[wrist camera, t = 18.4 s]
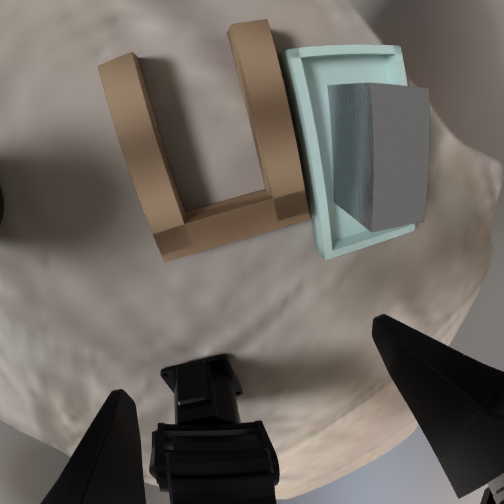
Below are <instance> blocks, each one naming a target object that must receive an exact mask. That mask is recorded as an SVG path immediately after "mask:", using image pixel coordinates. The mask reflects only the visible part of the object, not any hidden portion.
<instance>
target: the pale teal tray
mask: <svg viewBox="0 0 504 504" xmlns="http://www.w3.org/2000/svg"><path fill="white" fill-rule="evenodd" d="M280 58H281V62H282V66H283V70H284V74H285V78H286V83H287V87H288V91H289V96H290V100H291V105H292V110H293V114H294V119H295V124H296V129H297V134H298V139H299V145H300V150H301V155H302V161H303V166H304V172H305V178H306V184H307V190H308V196H309V202H310V209H311V215H312V222H313V229H314V236H315V244H316V249H317V250H318V252H319V253H320V254H321V255H322V257H323V258H324V259H325V260H328V259H331V258H335V257H338V256H341V255H344V254H347V253H350V252H353V251H356V250H359V249H362V248H365V247H368V246H371V245H374V244H377V243H380V242H383V241H386V240H389V239H392V238H395V237H398V236H401V235H403V234H406V233H409V232H412V231H415V224H411V225H406V226H401V227H396V228H391V229H387V230H382V231H377V232H372V233H371V232H370V231H369V230H368V229H366V228H365V227H364V226H363V225H361V224H360V223H359V222H358V221H357V220H355V219H354V218H353V217H352V216H350V215H349V214H348V213H347V212H345V211H344V210H343V209H342V208H340V207H339V206H338V205H336V204H335V203H334V182H333V157H332V138H331V124H330V111H329V99H328V89H327V85H336V84H351V83H383V84H394V85H404V86H408V85H407V79H406V73H405V67H404V62H403V57H402V52H401V47H400V46H391V45H331V46H315V47H303V48H293V49H288V50H286V51H284V52H282V53H280Z"/></svg>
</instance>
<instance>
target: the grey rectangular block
mask: <svg viewBox="0 0 504 504" xmlns="http://www.w3.org/2000/svg"><path fill="white" fill-rule="evenodd" d="M327 89H328V99H329V111H330V124H331V138H332V157H333V182H334V203H335V204H336V205H338V206H339V207H340V208H342V209H343V210H344V211H345V212H347V213H348V214H349V215H350V216H352V217H353V218H354V219H355V220H357V221H358V222H359V223H360V224H361V225H363V226H364V227H365V228H366V229H368V230H369V231H370V232H371V233H372V232H377V231H382V230H387V229H391V228H396V227H401V226H406V225H411V224H415V223H420V222H424V216H425V208H426V198H427V187H428V173H429V151H430V109H429V89H427V88H420V87H413V86H404V85H394V84H383V83H351V84H336V85H327Z"/></svg>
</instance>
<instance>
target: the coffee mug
mask: <svg viewBox="0 0 504 504" xmlns="http://www.w3.org/2000/svg"><path fill="white" fill-rule="evenodd" d="M2 217H3V196H2V192H1V188H0V224H1V221H2Z"/></svg>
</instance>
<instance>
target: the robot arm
mask: <svg viewBox="0 0 504 504" xmlns="http://www.w3.org/2000/svg"><path fill="white" fill-rule="evenodd" d="M372 338H373V340H374V342H375V344H376V347H377V349H378V351H379V353H380V355H381V357H382V360H383V362H384V364H385V366H386V368H387V370H388V372H389V374H390V376H391V378H392V380H393V381H394V383H395V385H396V386H397V388H398V390H399V391H400V393H401V395H402V396H403V398H404V400H405V401H406V403H407V405H408V406H409V408H410V410H411V412H412V413H413V415H414V417H415V418H416V420H417V422H418V424H419V425H420V427H421V429H422V431H423V433H424V434H425V436H426V438H427V440H428V441H429V443H430V445H431V447H432V449H433V451H434V452H435V454H436V456H437V458H439V459H438V460H439V462H440V464H441V466H442V468H443V469H444V471H445V473H446V475H447V477H448V479H449V481H450V483H451V485H452V487H453V489H454V491H455V493H456V495H457V497H458V498H461V497H463V496H465V495H467V494H469V493H471V492H473V491H475V490H476V489H478V488H480V487H481V486H484V485H485V484H488V486H489V487H488V488H486V489H485V491H484V494H483V497H482V500H481V503H480V504H504V372H503V371H501V370H498V369H495V368H492V367H490V366H488V365H485V364H483V363H481V362H479V361H477V360H475V359H472V358H471V357H468V356H466V355H463V353H461V352H459V351H456V350H455V349H453V348H451V347H449V346H447V345H445V344H443V343H441V342H439V341H437V340H435V339H433V338H431V337H429V336H427V335H425V334H423V333H421V332H419V331H417V330H415V329H413V328H411V327H409V326H407V325H405V324H403V323H401V322H399V321H397V320H395V319H393V318H392V317H390V316H388V315H385V314H382V315H379V316H377V317H375V318H374V319H373V325H372ZM161 377H162V378H163V379H164V381H165V382H166V383H167V385H168V386H169V387H170V389H171V390H172V391H173V393H174V402H175V424H165V423H158V429H157V430H156V431H154V432H152V452H151V459H150V466H149V472H150V474H151V475H152V476H153V477H154V478H155V479H156V481H157V484H159V488H160V491H161V492H169V495H170V503H171V504H276V498H275V487H274V486H276V485H277V484H278V482H279V476H280V471H279V463H278V459H277V455H276V452H275V450H274V448H273V446H272V443H271V441H270V439H269V437H268V434H267V432H266V430H265V428H264V425H263V423H262V421H261V420H260V421H255V422H248V423H241V421H240V416H239V411H238V406H237V401H236V396H239V395H242V394H243V390H242V387H241V385H240V383H239V381H238V379H237V377H236V375H235V373H234V371H233V369H232V366H231V364H230V362H229V360H228V358H227V356H225V355H219V356H215V357H211V358H207V359H203V360H199V361H195V362H191V363H187V364H183V365H178V366H174V367H169V368H165V369H162V370H161ZM41 504H146V499H145V489H144V479H143V467H142V451H141V439H140V432H139V425H138V418H137V411H136V405H135V402H134V401H133V399H132V398H131V397H130V396H129V395H128V394H127V393H126V392H125V391H124V390H123V389H118V390H113V391H112V392H111V393H110V395H109V396H108V398H107V399H106V401H105V402H104V404H103V406H102V407H101V409H100V410H99V412H98V414H97V415H96V417H95V418H94V420H93V422H92V423H91V425H90V427H89V428H88V430H87V431H86V433H85V435H84V436H83V438H82V440H81V441H80V443H79V445H78V446H77V448H76V450H75V451H74V453H73V455H72V456H71V458H70V460H69V462H68V463H67V465H66V466H65V468H64V470H63V471H62V473H61V475H60V476H59V478H58V479H57V481H56V482H55V484H54V486H53V487H52V488H51V490H50V491H49V492H48V494H47V495H46V497H45V498H44V499H43V501H42V502H41Z"/></svg>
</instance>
